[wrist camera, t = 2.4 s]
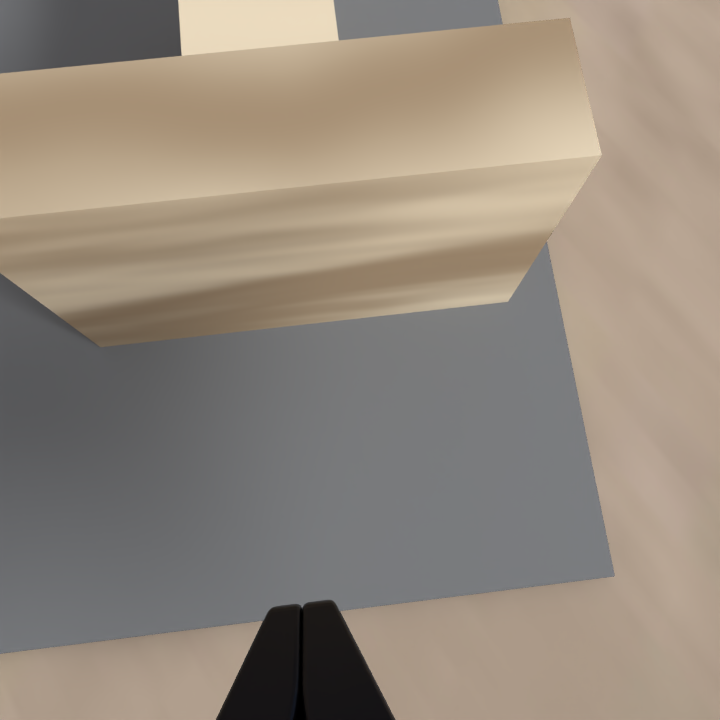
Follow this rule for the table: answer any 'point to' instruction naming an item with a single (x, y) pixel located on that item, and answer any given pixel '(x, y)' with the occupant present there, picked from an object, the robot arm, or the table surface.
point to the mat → (278, 428)
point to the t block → (289, 172)
